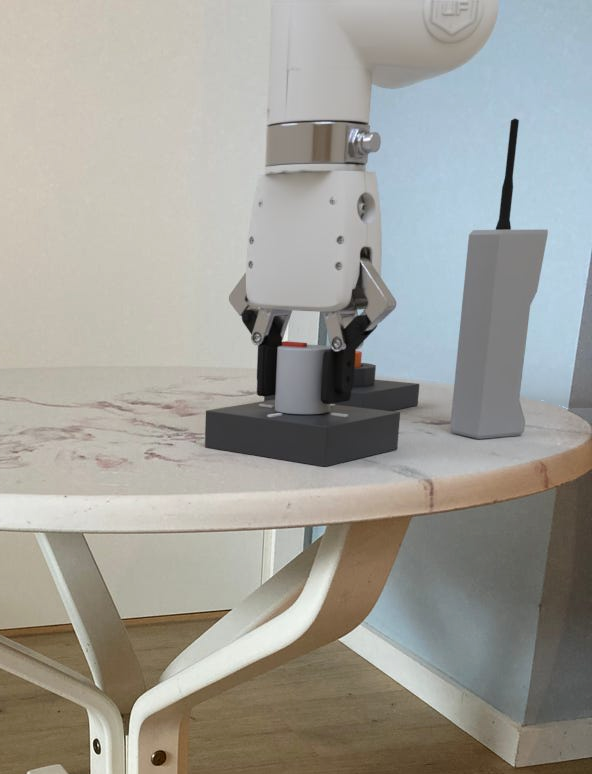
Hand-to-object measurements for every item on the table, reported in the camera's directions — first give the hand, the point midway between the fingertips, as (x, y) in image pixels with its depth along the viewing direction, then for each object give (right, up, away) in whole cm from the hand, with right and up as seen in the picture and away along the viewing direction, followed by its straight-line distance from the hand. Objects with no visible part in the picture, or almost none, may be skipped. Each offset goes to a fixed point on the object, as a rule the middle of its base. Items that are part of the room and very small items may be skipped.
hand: (302, 396), depth 89 cm
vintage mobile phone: (+17, -2, +7) cm, 19 cm away
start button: (+8, +8, +23) cm, 26 cm away
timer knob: (0, -1, 0) cm, 1 cm away
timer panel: (0, -4, +1) cm, 4 cm away
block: (+8, +5, +25) cm, 26 cm away
